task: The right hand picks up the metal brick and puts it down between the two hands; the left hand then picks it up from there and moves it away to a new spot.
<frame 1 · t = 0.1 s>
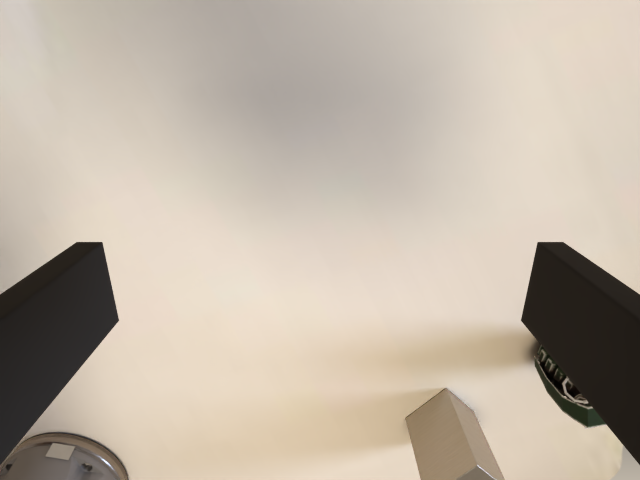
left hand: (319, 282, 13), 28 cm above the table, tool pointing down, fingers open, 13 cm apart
grenade: (551, 346, 47), on the table
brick: (439, 414, 51), on the table
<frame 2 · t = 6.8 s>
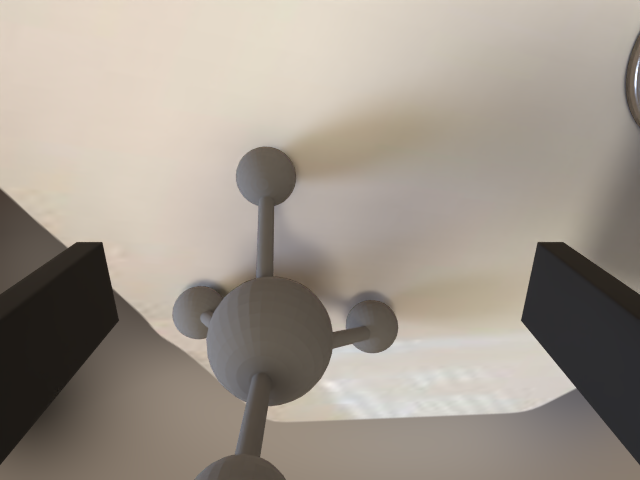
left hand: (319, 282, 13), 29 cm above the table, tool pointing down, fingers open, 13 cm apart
molecular model: (282, 246, 44), on the table
when the right hand's fingers open (4 cm above the table, at t = 16.0 s): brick drops 1 cm, on the table.
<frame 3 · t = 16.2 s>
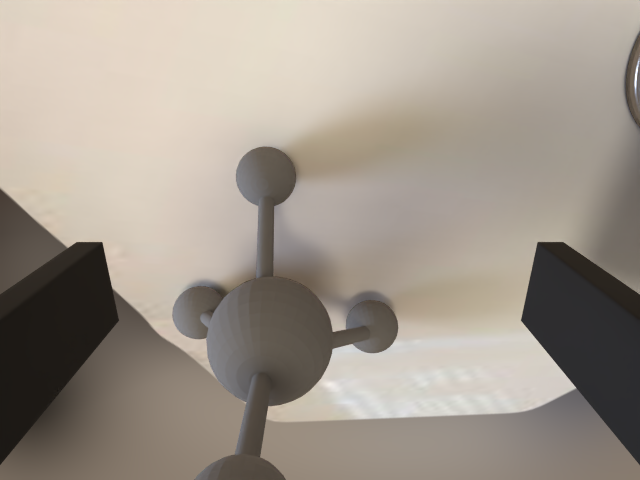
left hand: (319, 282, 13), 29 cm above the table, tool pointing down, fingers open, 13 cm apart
molecular model: (282, 246, 44), on the table
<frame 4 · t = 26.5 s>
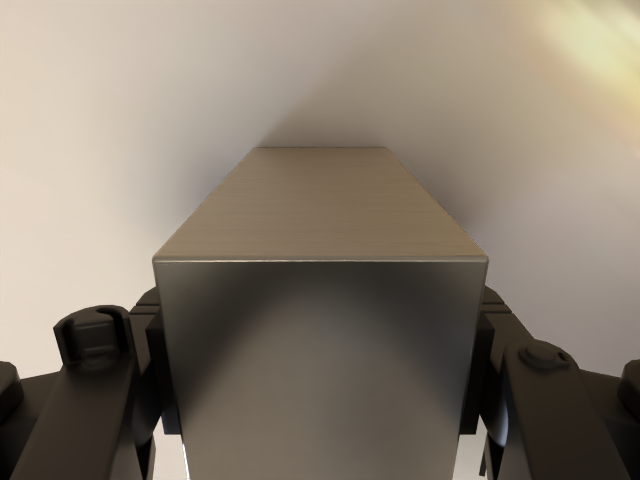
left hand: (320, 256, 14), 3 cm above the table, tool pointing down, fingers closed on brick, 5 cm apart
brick: (319, 225, 17), on the table, touching left hand
when the left hand's fingers open (4 cm above the table, at t = 40.8 s): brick stays where it is, on the table.
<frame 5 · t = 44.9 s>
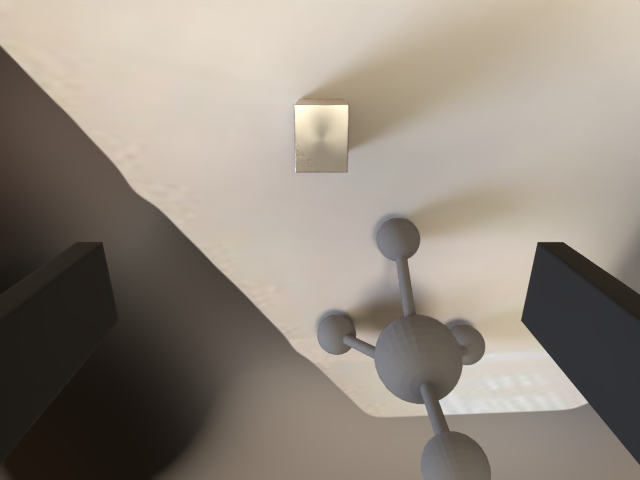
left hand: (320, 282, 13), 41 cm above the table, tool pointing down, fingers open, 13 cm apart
molecular model: (397, 285, 59), on the table
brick: (321, 127, 50), on the table
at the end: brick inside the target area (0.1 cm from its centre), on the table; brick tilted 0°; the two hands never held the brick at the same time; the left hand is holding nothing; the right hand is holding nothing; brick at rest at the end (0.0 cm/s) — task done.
